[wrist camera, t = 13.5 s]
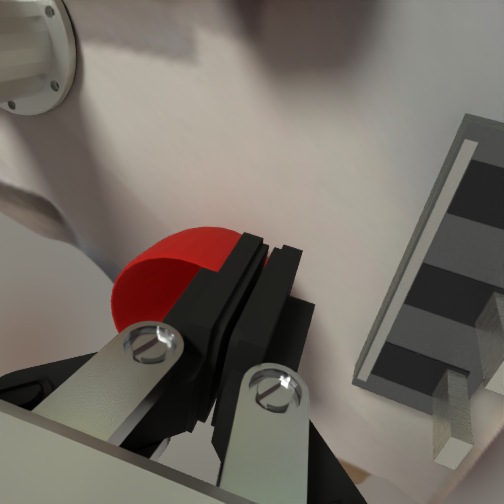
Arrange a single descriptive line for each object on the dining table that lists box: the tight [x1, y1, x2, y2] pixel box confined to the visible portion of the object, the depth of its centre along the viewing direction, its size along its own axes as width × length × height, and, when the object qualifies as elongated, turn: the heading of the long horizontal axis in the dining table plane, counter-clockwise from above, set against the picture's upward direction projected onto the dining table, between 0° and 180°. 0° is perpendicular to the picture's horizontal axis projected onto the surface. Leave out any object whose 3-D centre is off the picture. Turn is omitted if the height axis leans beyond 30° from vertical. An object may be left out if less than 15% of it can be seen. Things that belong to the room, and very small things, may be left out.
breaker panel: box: [352, 114, 504, 470], centre depth 30 cm, size 24×9×9 cm, turn 169°
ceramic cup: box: [111, 227, 269, 333], centre depth 37 cm, size 13×17×10 cm
